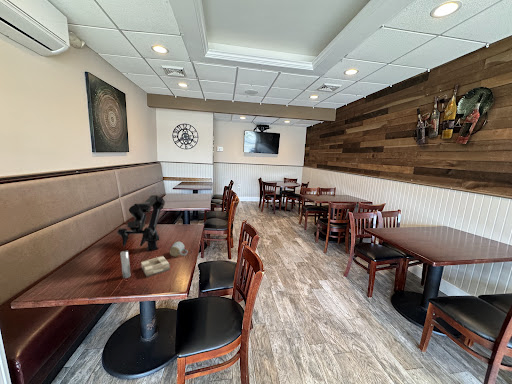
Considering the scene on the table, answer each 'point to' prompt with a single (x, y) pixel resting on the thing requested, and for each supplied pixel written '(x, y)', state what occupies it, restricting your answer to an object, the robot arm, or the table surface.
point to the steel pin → (125, 264)
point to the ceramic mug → (177, 249)
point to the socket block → (155, 266)
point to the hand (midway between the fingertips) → (132, 246)
